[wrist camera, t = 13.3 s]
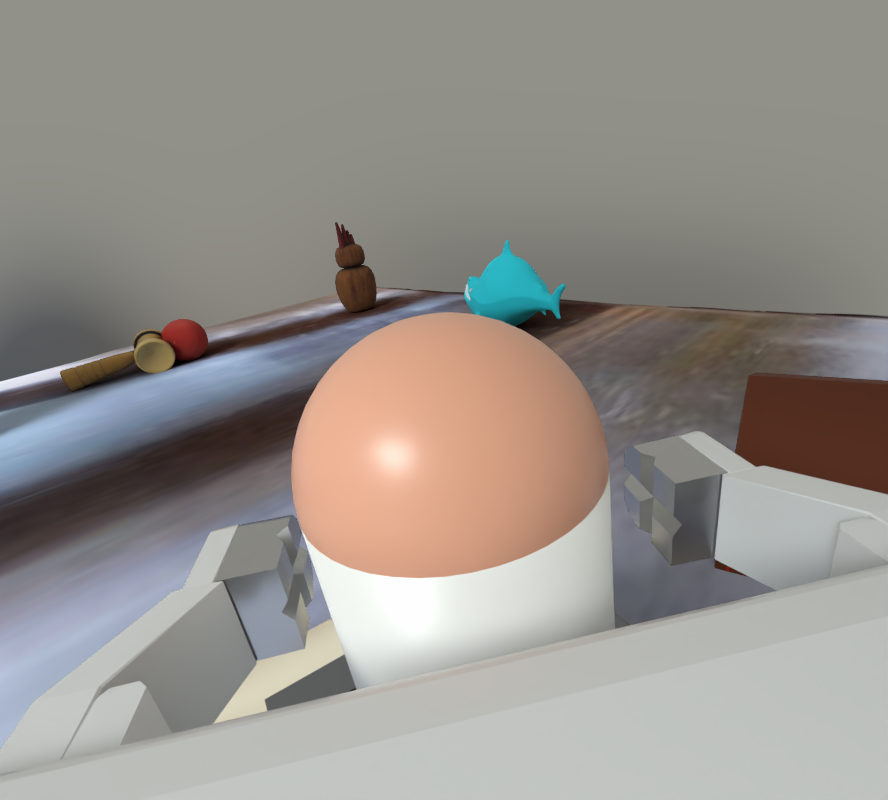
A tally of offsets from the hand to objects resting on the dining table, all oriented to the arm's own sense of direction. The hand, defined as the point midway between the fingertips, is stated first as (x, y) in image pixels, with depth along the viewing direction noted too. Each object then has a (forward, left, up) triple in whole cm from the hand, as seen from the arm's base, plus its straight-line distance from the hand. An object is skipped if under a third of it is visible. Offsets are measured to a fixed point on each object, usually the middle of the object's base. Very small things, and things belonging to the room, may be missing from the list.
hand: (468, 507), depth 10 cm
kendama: (-71, -10, -11) cm, 72 cm away
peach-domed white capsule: (+1, 0, -9) cm, 9 cm away
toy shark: (-40, +32, -11) cm, 52 cm away
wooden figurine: (-75, +25, -11) cm, 80 cm away
